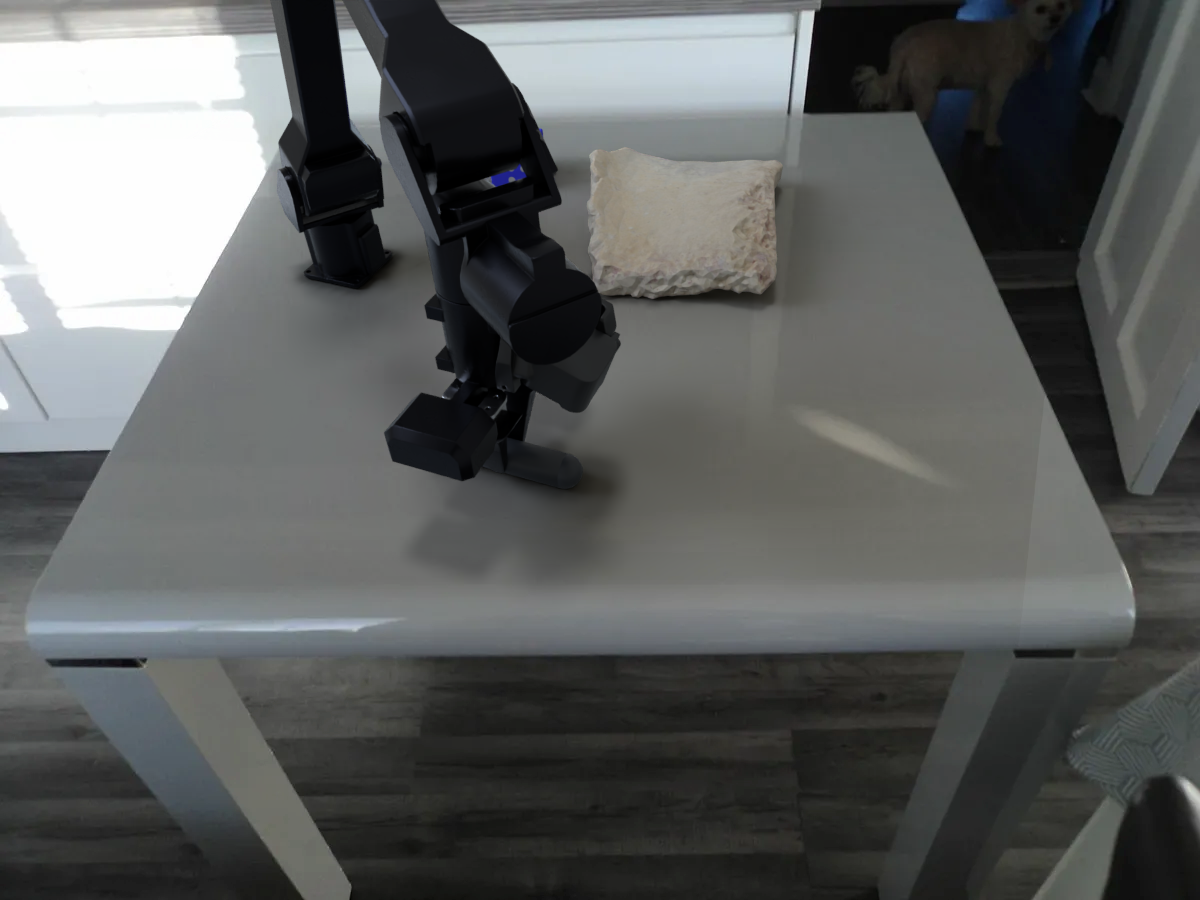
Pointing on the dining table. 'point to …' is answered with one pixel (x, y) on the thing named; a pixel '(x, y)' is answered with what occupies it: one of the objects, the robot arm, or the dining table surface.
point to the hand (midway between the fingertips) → (507, 458)
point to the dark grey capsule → (542, 464)
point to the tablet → (681, 224)
